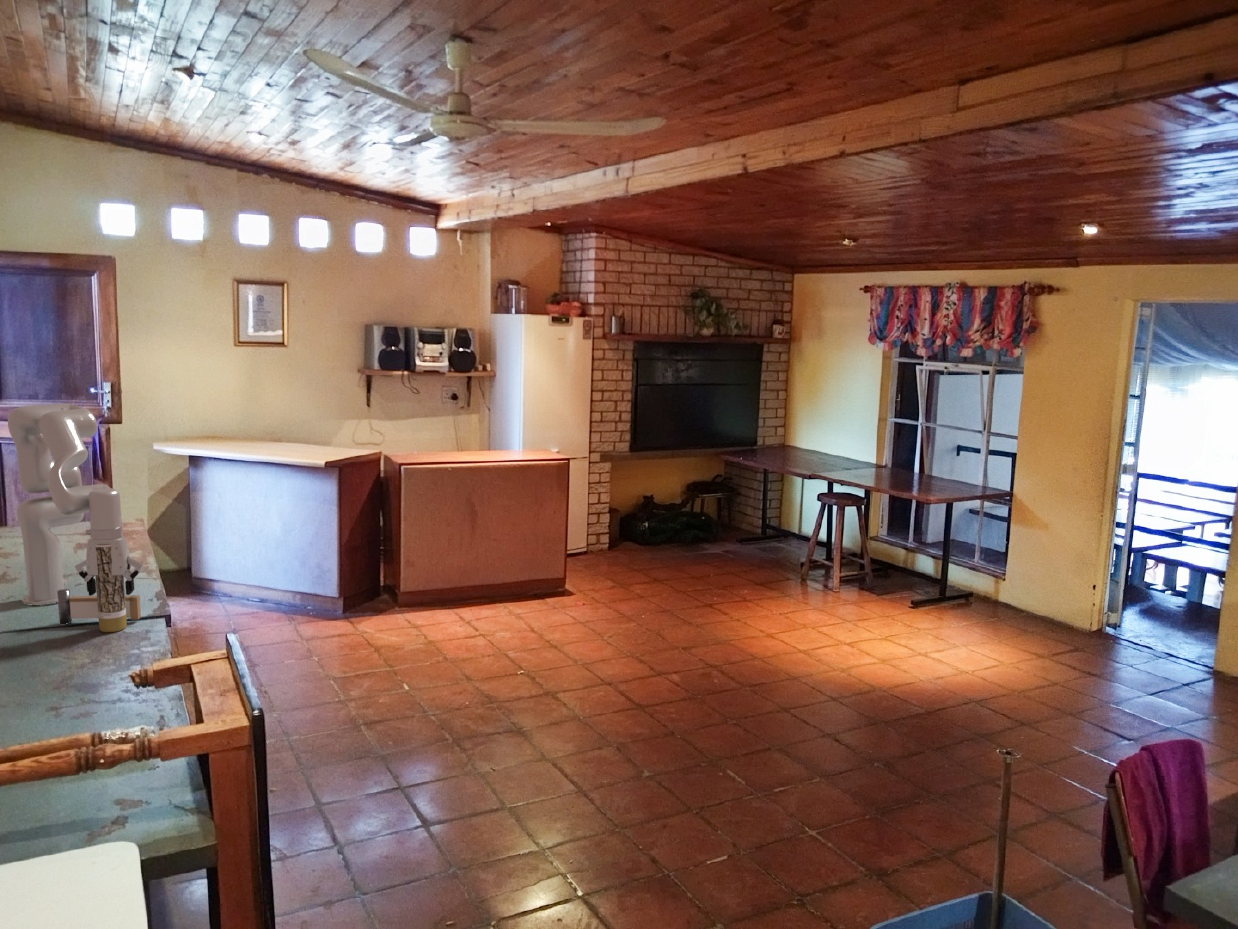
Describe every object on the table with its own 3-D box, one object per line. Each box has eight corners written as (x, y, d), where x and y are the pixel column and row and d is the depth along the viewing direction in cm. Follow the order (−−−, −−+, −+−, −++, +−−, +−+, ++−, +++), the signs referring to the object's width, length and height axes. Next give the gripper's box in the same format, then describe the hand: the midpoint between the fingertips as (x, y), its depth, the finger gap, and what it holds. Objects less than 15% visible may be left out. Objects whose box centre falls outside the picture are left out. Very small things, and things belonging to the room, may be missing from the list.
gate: (74, 618, 264) (72, 596, 263) (140, 617, 266) (139, 595, 265) (70, 620, 262) (69, 598, 261) (138, 619, 264) (136, 597, 263)
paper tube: (118, 633, 255) (112, 545, 251) (94, 633, 255) (87, 544, 251) (131, 625, 262) (126, 539, 258) (108, 624, 262) (102, 538, 258)
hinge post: (62, 621, 264) (60, 589, 262) (73, 621, 264) (71, 589, 263) (57, 624, 261) (55, 592, 260) (69, 624, 261) (66, 592, 260)
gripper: (67, 537, 250) (71, 598, 252) (134, 536, 252) (138, 597, 254) (79, 531, 257) (84, 590, 260) (145, 530, 259) (149, 589, 262)
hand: (111, 594), depth 257 cm, fingers open, 9 cm apart
